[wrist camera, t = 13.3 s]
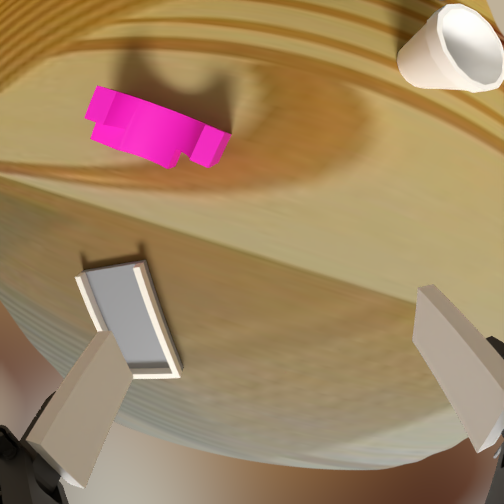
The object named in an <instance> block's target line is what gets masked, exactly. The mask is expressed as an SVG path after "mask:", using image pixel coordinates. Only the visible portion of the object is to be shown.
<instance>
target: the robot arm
mask: <svg viewBox="0 0 504 504" xmlns="http://www.w3.org/2000/svg"><path fill="white" fill-rule="evenodd" d="M412 341H413V343H414V344H415V346H416V347H417V349H418V351H419V352H420V354H421V355H422V357H423V358H424V360H425V362H426V363H427V365H428V366H429V368H430V370H431V371H432V373H433V375H434V376H435V378H436V380H437V381H438V383H439V385H440V386H441V388H442V390H443V391H444V393H445V395H446V397H447V398H448V400H449V402H450V404H451V405H452V407H453V409H454V411H455V412H456V414H457V416H458V418H459V420H460V422H461V423H462V425H463V427H464V429H465V431H466V433H467V435H468V437H469V438H470V440H471V442H472V444H473V446H474V448H475V450H476V452H477V453H478V452H480V451H482V450H484V449H486V448H488V447H490V446H492V445H494V444H495V442H496V441H497V439H498V438H499V436H500V435H501V434H502V436H503V437H504V343H503V342H502V341H500V340H498V339H496V338H494V337H493V336H491V337H488V338H486V339H485V338H484V336H483V335H482V334H481V333H480V332H479V331H478V330H477V329H476V328H475V327H474V325H473V324H472V323H471V322H470V321H469V320H468V319H467V318H466V317H465V316H464V315H463V314H462V313H461V312H460V311H459V310H458V309H457V308H456V307H455V306H454V304H453V303H452V302H451V301H450V300H449V299H448V298H447V297H446V296H445V295H444V294H443V293H442V292H441V291H440V290H439V289H438V288H437V287H436V286H435V285H433V284H431V285H427V286H423V287H418V293H417V304H416V314H415V323H414V331H413V339H412ZM133 377H134V376H133V374H132V372H131V371H130V369H129V367H128V365H127V363H126V360H125V358H124V356H123V354H122V352H121V350H120V348H119V346H118V344H117V341H116V339H115V337H114V335H113V333H112V331H98V332H97V334H96V335H95V336H94V338H93V339H92V341H91V342H90V343H89V345H88V346H87V348H86V349H85V350H84V352H83V353H82V355H81V356H80V357H79V359H78V360H77V362H76V363H75V364H74V366H73V367H72V369H71V370H70V372H69V373H68V375H67V376H66V377H65V379H64V380H63V382H62V384H61V385H60V386H59V388H58V389H57V391H55V392H54V393H53V394H51V395H50V396H49V397H48V398H47V399H46V400H45V402H44V403H43V405H42V406H41V410H39V411H38V413H37V414H36V417H34V419H33V420H32V422H31V424H30V425H29V427H28V428H27V430H26V432H25V433H24V435H23V437H22V438H21V440H20V441H18V440H17V438H16V437H15V436H14V435H13V434H12V433H11V431H10V430H9V429H8V428H7V427H6V426H4V425H0V504H69V503H68V500H67V497H66V495H65V491H64V488H63V486H62V484H61V483H60V482H59V479H60V477H62V478H64V479H65V480H66V481H67V482H68V483H69V484H71V485H74V486H77V487H81V488H84V489H85V488H86V485H87V482H88V480H89V477H90V475H91V473H92V470H93V468H94V465H95V463H96V460H97V458H98V456H99V453H100V451H101V449H102V446H103V444H104V441H105V439H106V437H107V435H108V432H109V430H110V428H111V425H112V423H113V421H114V419H115V416H116V414H117V412H118V410H119V407H120V405H121V403H122V401H123V399H124V396H125V394H126V392H127V390H128V388H129V386H130V384H131V381H132V379H133ZM499 453H500V456H499V459H498V463H497V467H496V471H495V474H494V478H493V481H492V484H491V487H490V490H489V493H488V496H487V499H486V502H485V504H504V442H503V443H502V445H501V446H500V447H499V449H498V450H497V452H496V453H495V455H494V457H493V458H496V457H497V456H498V455H499Z"/></svg>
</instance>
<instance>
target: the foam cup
mask: <svg viewBox="0 0 504 504" xmlns="http://www.w3.org/2000/svg"><path fill="white" fill-rule="evenodd" d="M397 64H398V68H399V71H400V73H401V74H402V75H403V77H404V78H405V80H406V81H408V82H409V83H410V84H412V85H413V86H415V87H420V88H426V89H454V90H467V91H470V92H473V93H474V92H482V91H489V90H492V89H496V88H499V86H500V85H501V83H502V82H503V80H504V50H503V47H502V44H501V41H500V40H499V38H498V36H497V35H496V33H495V31H494V30H493V28H492V26H491V25H490V24H489V23H488V22H487V21H486V20H485V19H484V18H483V17H482V16H481V15H480V14H479V13H478V12H477V11H475V10H473V9H471V8H469V7H466V6H464V5H462V4H447V5H445V6H444V7H442V8H440V9H439V10H437V11H436V12H435V13H434V14H433V15H432V16H431V17H430V18H429V19H428V20H427V23H426V24H425V25H424V26H423V27H422V28H421V29H420V30H419V31H418V32H417V33H416V34H415V35H414V36H413V37H412V38H411V39H410V40H409V41H408V42H407V43H406V44H405V45H404V46H403V47H402V48H401V49H400V51H399V52H398V56H397Z"/></svg>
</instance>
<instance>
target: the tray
mask: <svg viewBox="0 0 504 504" xmlns="http://www.w3.org/2000/svg"><path fill="white" fill-rule="evenodd" d="M75 278H76V281H77V284H78V286H79V289H80V292H81V294H82V297H83V299H84V302H85V304H86V306H87V309H88V311H89V313H90V316H91V318H92V320H93V323H94V325H95V327H96V329H97V332H98V331H112V333H113V335H114V337H115V339H116V341H117V344H118V346H119V348H120V350H121V352H122V354H123V356H124V358H125V360H126V363H127V365H128V367H129V369H130V371H131V372H132V374H133V376H134V377H133V379H161V378H181V374H182V371H183V368H184V367H183V365H182V362H181V360H180V357H179V355H178V352H177V350H176V347H175V344H174V342H173V339H172V336H171V334H170V331H169V328H168V326H167V323H166V320H165V317H164V314H163V311H162V308H161V306H160V303H159V300H158V297H157V294H156V291H155V288H154V284H153V281H152V278H151V275H150V272H149V269H148V265H147V262H146V260H141V261H135V262H129V263H123V264H117V265H111V266H106V267H100V268H94V269H88V270H83V271H82V272H81V273H79V274H78V275H77V276H76V277H75Z"/></svg>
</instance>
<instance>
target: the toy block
mask: <svg viewBox="0 0 504 504" xmlns="http://www.w3.org/2000/svg"><path fill="white" fill-rule="evenodd" d="M85 119H88V120H91V121H94V122H96V124H95V127H94V130H93V132H92V135H91V138H90V139H92V140H94V141H97V142H99V143H102V144H104V145H107V146H109V147H112V148H114V149H116V150H120V151H124V152H127V153H131V154H134V155H137V156H140V157H143V158H145V159H148V160H150V161H153V162H155V163H157V164H159V165H161V166H163V167H165V168H167V169H169V168H172V167H175V166H176V164H177V161H178V159H179V157H180V154H181V152H183V153H185V154H186V155H187V156H188V157H189V158H190V160H191V161H193V162H196V163H198V164H200V165H203V166H205V167H207V168H209V167H211V166H213V165H215V164H217V163H218V162H219V160H220V158H221V156H222V154H223V151H224V149H225V147H226V145H227V143H228V141H229V139H230V137H231V135H232V134H229V133H227V132H225V131H222V130H220V129H218V128H215V127H213V126H211V125H208V124H206V123H203V122H201V121H198V120H196V119H194V118H191V117H189V116H186V115H183V114H181V113H178V112H176V111H173V110H170V109H168V108H165V107H162V106H160V105H157V104H154V103H152V102H149V101H146V100H143V99H140V98H137V97H134V96H131V95H128V94H125V93H122V92H119V91H115V90H112V89H108V88H104V87H101V86H97V87H96V90H95V92H94V94H93V97H92V99H91V102H90V104H89V107H88V110H87V112H86V115H85Z"/></svg>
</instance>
